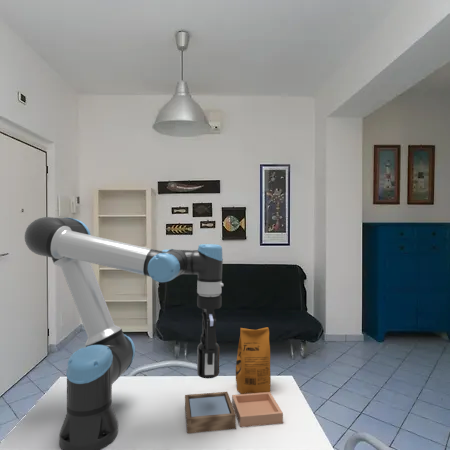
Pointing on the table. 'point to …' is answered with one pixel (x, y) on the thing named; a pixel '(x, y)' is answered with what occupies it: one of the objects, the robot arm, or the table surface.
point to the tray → (256, 409)
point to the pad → (208, 406)
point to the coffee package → (253, 361)
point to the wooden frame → (210, 416)
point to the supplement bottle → (201, 359)
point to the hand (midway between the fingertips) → (207, 368)
